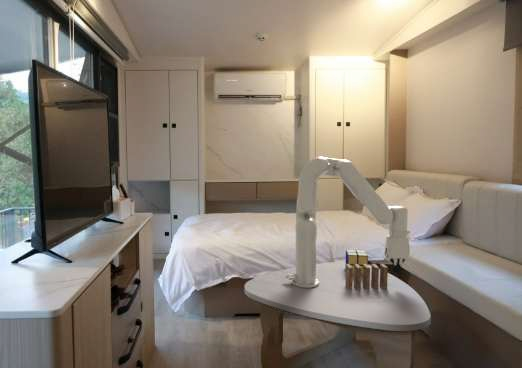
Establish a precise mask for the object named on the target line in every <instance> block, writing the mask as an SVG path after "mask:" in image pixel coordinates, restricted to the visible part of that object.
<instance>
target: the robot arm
mask: <svg viewBox="0 0 522 368" xmlns="http://www.w3.org/2000/svg"><path fill="white" fill-rule="evenodd" d="M322 176H329V177H336V178H337V177H338V178H339V179H340V180H341V182H342V183H343V184H344V185H345V186H346V188H348V190H349V191H350V193H351V194H352V195H353V196H354V197H355V199H356V200H357V201H359V202H360V203H361V204H362V205H363V206H364V207H365V208H366V209H367V210H368V211H369V213H370V215H371V217H372V218H373V220H375V221H376V222H377V223H379V224H381V225H388V227H389V228H388V234H387V235H386V238H385V244H384V249H383V250H384V252H383V254H384V256H385V257H384V260H385V261H387V262H391V263H392V271H393V273H394V274H395V275H397V274H398V275H399V274H400V273H401V271H402V270H401V266H402V265H403V264H404V262H406V261H409V260H410V250H411V249H410V248H411V247H410V241H409V237H408V235H410V233H411V232H410V230H408V215H409V212H408V211H409V210H408V208H407V207H406V206H402V205H392V206H391V205H388V204H387V203H386V202H385V200H383V198H382V197H381V196H380V195H379V194H378V192H377V191H375V189H374V188H373V186H372V185H371V184H370V183H369V182H368V181H367V179H366V177H364V176H363V174H362V173H361V172H360V170H358V168H357V167H356V166H355V165H354V163H353V162H352V161H350V160H347V159H339V158H330V157H324V156H316V157H313V158H312V159H311V160H309V161H308V162H307V163H306V164H305V165H304V166H303V168H301V171H300V173H299V177H298V189H297V198H296V212H295V213H296V215H295V219H296V220H295V271H294V273H292V274H287V273H285V279H288V280H290V281H291V283H292V284H293V286H296V287H298V288H304V289H305V288H307V289H308V288H309V289H311V288H315V287H317V286H319V284H320V281H319V279H318V278H317V277H316V276H317V275H316V274H317V236H318V235H317V234H318V227H317V222H316V220H317V219H316V218H317V217H316V216H317V212H316V211H317V207H318V206H317V205H318V200H317V199H318V198H317V197H318V196H317V191H318V181H319V178H320V177H322Z"/></svg>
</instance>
